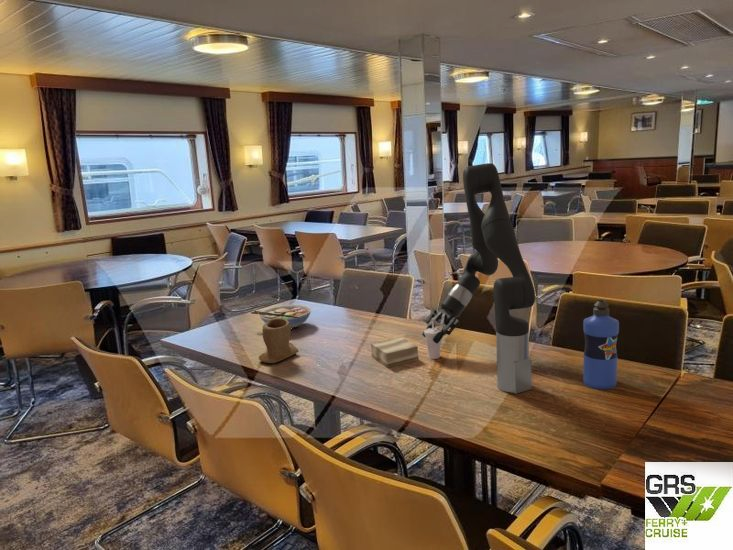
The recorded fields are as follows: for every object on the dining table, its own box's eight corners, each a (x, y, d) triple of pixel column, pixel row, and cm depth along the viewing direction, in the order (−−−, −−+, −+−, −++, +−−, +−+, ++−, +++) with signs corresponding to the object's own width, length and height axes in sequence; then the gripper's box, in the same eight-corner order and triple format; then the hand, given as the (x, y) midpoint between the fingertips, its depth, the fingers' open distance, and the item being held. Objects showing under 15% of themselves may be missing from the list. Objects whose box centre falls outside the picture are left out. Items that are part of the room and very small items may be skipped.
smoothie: (443, 353, 191) (441, 315, 188) (444, 360, 184) (442, 320, 182) (425, 354, 191) (423, 316, 188) (425, 360, 185) (423, 321, 182)
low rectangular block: (418, 359, 186) (417, 346, 185) (387, 367, 181) (386, 353, 180) (401, 349, 197) (400, 336, 196) (371, 357, 192) (370, 343, 191)
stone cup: (276, 368, 188) (271, 327, 185) (254, 362, 196) (249, 322, 193) (307, 354, 200) (303, 315, 196) (285, 349, 207) (281, 311, 204)
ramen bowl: (325, 322, 237) (324, 305, 235) (292, 339, 218) (290, 319, 217) (282, 317, 250) (280, 300, 249) (247, 332, 232) (245, 314, 230)
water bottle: (575, 380, 161) (576, 300, 156) (600, 374, 164) (601, 295, 159) (599, 392, 152) (600, 307, 147) (624, 385, 156) (627, 302, 150)
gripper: (438, 290, 193) (411, 328, 191) (462, 298, 180) (433, 339, 178) (451, 302, 196) (425, 339, 194) (475, 310, 183) (447, 351, 181)
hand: (429, 339), depth 186 cm, fingers closed on smoothie, 6 cm apart
